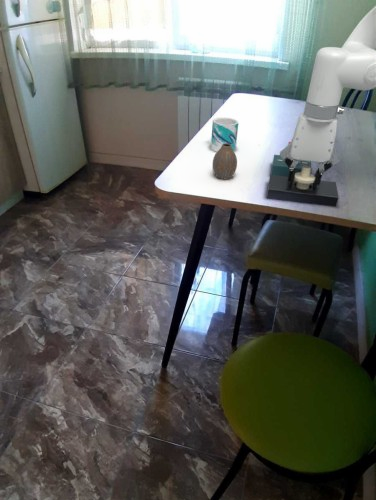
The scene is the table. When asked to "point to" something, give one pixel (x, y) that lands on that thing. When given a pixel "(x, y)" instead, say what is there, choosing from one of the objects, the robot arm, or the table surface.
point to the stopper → (304, 177)
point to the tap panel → (285, 166)
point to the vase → (225, 162)
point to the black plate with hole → (302, 191)
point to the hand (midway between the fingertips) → (302, 184)
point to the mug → (224, 133)
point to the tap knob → (289, 154)
